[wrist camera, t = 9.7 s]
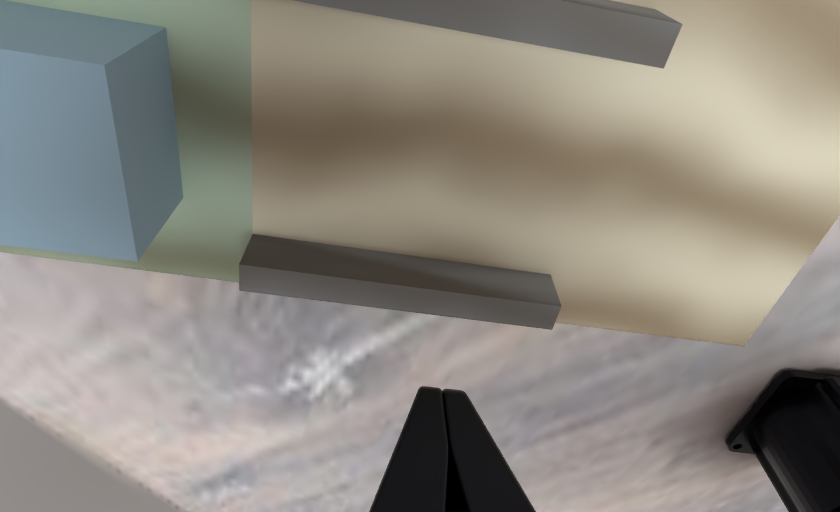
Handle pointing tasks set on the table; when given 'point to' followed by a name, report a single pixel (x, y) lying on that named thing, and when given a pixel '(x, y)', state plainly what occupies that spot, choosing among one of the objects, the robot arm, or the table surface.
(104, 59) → the blue block
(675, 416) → the table surface
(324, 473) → the table surface
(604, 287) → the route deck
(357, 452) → the table surface
